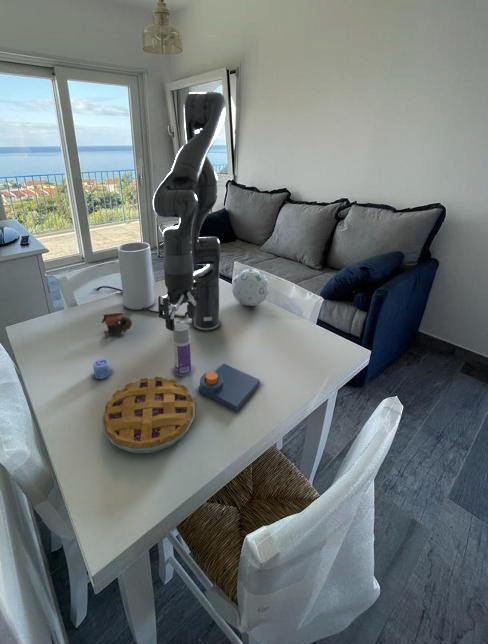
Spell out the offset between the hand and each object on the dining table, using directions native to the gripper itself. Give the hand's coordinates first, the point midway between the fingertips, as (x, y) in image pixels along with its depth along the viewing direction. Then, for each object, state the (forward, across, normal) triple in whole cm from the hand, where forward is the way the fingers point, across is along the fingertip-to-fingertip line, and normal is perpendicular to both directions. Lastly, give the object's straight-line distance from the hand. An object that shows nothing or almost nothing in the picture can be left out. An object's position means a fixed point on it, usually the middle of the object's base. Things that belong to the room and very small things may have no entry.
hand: (181, 322), depth 88 cm
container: (+16, 0, 0) cm, 17 cm away
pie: (+17, +18, +5) cm, 25 cm away
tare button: (+13, +1, +11) cm, 17 cm away
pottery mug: (+16, -3, -33) cm, 37 cm away
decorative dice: (+16, +15, -18) cm, 29 cm away
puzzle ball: (+16, -49, -5) cm, 52 cm away
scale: (+16, -2, +15) cm, 22 cm away
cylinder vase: (+16, -22, -43) cm, 51 cm away
